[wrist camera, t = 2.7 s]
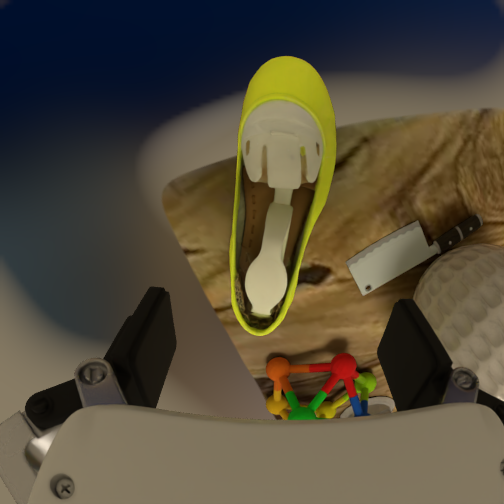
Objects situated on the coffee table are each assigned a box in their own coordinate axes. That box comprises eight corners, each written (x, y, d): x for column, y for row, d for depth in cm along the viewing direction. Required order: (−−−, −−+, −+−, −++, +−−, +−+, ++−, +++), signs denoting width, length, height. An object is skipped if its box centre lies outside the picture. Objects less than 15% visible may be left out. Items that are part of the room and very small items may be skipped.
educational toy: (265, 479, 26) (305, 408, 21) (248, 406, 38) (272, 325, 33) (371, 459, 29) (427, 387, 25) (340, 400, 41) (376, 327, 37)
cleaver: (343, 257, 29) (362, 294, 30) (345, 262, 27) (365, 300, 28) (467, 183, 24) (479, 223, 25) (473, 185, 22) (485, 226, 23)
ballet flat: (344, 69, 20) (364, 42, 13) (301, 310, 30) (300, 364, 23) (252, 56, 21) (233, 25, 14) (226, 297, 31) (205, 346, 23)
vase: (445, 185, 23) (618, 310, 3) (506, 258, 26) (605, 367, 6) (355, 305, 30) (415, 501, 10) (433, 347, 33) (490, 479, 13)
